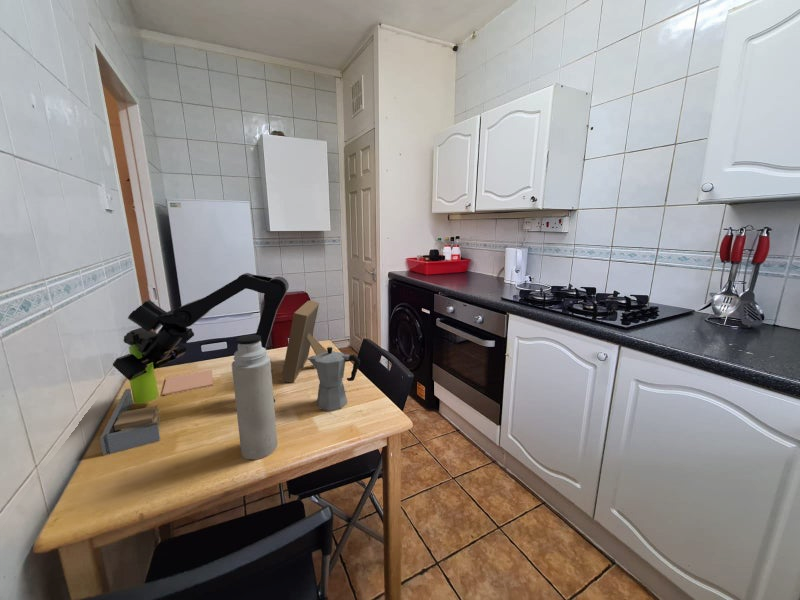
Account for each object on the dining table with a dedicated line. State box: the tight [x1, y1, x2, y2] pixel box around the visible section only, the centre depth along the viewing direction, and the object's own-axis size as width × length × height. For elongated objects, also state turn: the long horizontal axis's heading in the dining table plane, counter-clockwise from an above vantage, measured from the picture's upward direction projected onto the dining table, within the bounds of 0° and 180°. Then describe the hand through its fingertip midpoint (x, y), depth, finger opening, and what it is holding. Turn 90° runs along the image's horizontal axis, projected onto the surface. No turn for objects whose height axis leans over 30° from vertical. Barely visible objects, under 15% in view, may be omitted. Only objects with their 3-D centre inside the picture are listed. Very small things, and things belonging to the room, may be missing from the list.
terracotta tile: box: [161, 369, 214, 397], centre depth 112 cm, size 14×14×1 cm
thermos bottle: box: [231, 334, 278, 460], centre depth 74 cm, size 8×8×28 cm
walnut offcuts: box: [114, 405, 162, 431], centre depth 85 cm, size 8×8×4 cm
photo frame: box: [280, 300, 328, 384], centre depth 120 cm, size 15×22×25 cm
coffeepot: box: [307, 346, 361, 412], centre depth 96 cm, size 15×9×18 cm, turn 90°
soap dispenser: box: [128, 345, 160, 404], centre depth 93 cm, size 6×7×20 cm
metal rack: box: [99, 388, 161, 456], centre depth 88 cm, size 28×11×4 cm, turn 31°
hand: (138, 374), depth 94 cm, fingers closed on soap dispenser, 6 cm apart
